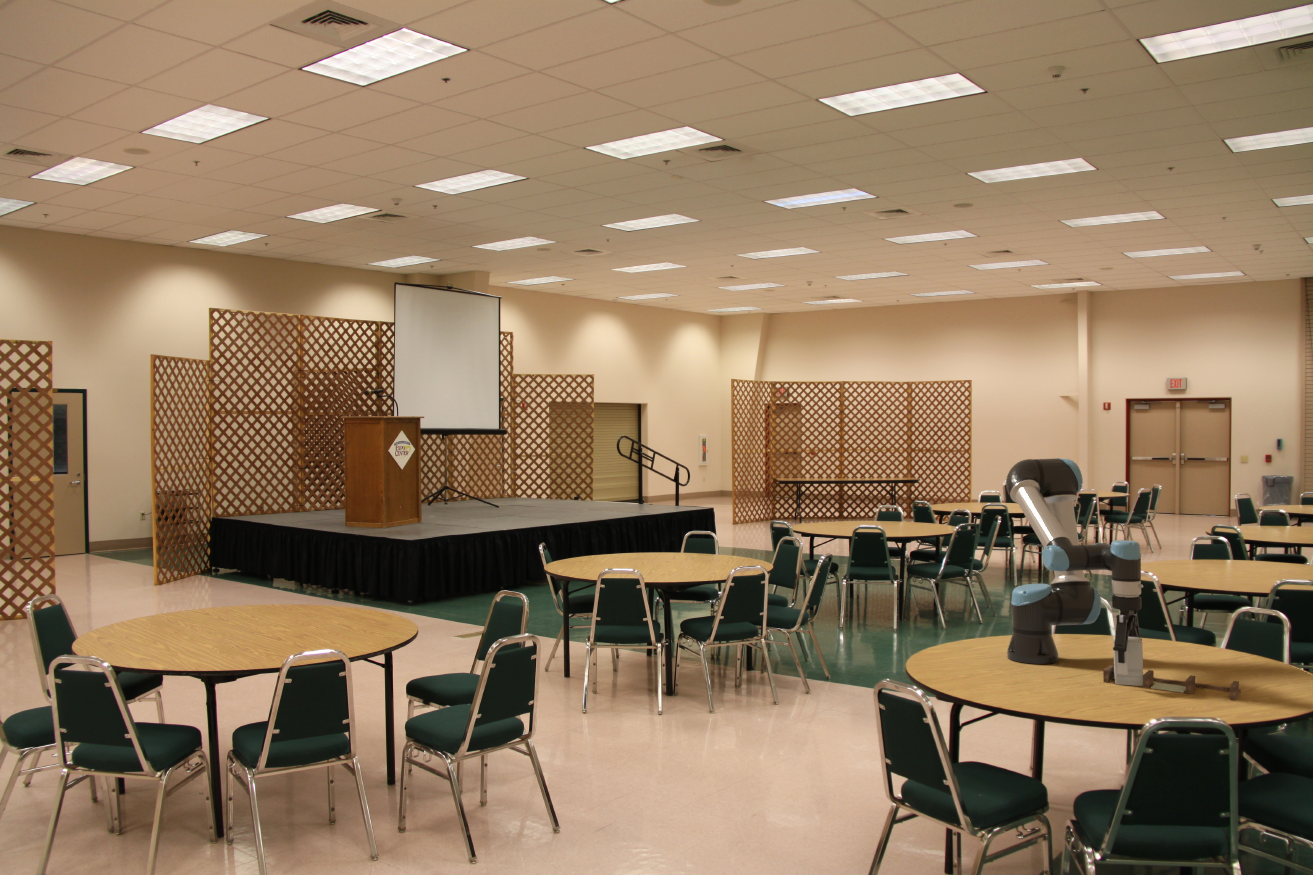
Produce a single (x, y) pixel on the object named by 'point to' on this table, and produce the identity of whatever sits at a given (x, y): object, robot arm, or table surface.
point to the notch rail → (1177, 682)
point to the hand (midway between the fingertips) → (1128, 669)
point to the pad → (1169, 687)
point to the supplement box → (1131, 663)
